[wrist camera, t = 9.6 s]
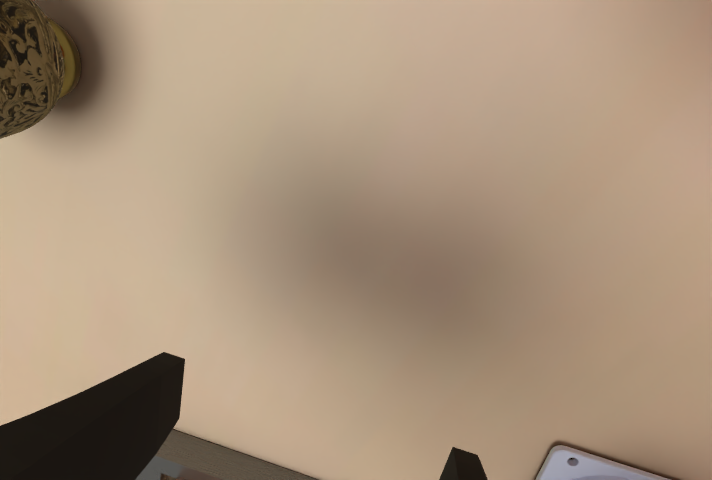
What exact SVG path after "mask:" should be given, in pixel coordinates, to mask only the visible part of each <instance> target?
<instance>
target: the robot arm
mask: <svg viewBox="0 0 712 480" xmlns="http://www.w3.org/2000/svg"><path fill="white" fill-rule="evenodd" d="M184 364H185V359H183V358H180V357H177V356H174V355H171V354H168V353H165V352H163V353H161V354H159V355H157V356H155V357H153V358H151V359H149V360H147V361H145V362H143V363H141V364H138V365H136V366H134V367H132V368H130V369H128V370H126V371H124V372H122V373H120V374H118V375H116V376H114V377H112V378H110V379H108V380H106V381H104V382H102V383H100V384H98V385H95V386H93V387H91V388H89V389H87V390H85V391H83V392H81V393H78V394H76V395H74V396H72V397H69V398H67V399H65V400H62V401H60V402H58V403H55V404H53V405H51V406H48V407H46V408H44V409H42V410H39V411H37V412H35V413H32V414H30V415H27V416H25V417H22V418H20V419H17V420H15V421H12V422H9V423H7V424H4V425H1V426H0V480H135V479H136V478H137V477H138V476H139V475H140V473H141V472H142V471H143V470H144V468H145V467H146V466H147V465H148V464H149V462H150V461H151V460H152V459H153V457H154V456H155V455H156V453H157V452H158V450H159V449H160V447H161V446H162V444H163V443H164V441H165V440H166V438H167V437H168V435H169V434H170V432H171V431H172V429H173V427H174V426H175V424H176V423H177V421H178V420H179V416H180V406H181V395H182V385H183V375H184ZM569 458H575V459H573V460H569ZM439 480H487V477H486V474H485V472H484V469H483V467H482V464H481V461H480V459H479V457H478V455H476V454H473V453H470V452H467V451H464V450H461V449H458V448H455V447H453V448H452V450H451V452H450V455H449V457H448V460H447V462H446V465H445V467H444V470H443V472H442V475H441V477H440V479H439ZM536 480H670V479H667V478H664V477H661V476H658V475H655V474H652V473H648V472H645V471H642V470H639V469H636V468H633V467H630V466H627V465H623V464H620V463H617V462H614V461H611V460H608V459H605V458H602V457H598V456H595V455H592V454H589V453H586V452H583V451H580V450H576V449H573V448H570V447H567V446H563V445H558V446H555V447H553V448H552V449H551V451H550V453H549V455H548V456H547V458H546V460H545V462H544V464H543V466H542V468H541V470H540V472H539V474H538V476H537V478H536Z"/></svg>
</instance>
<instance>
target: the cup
mask: <svg viewBox="0 0 712 480" xmlns="http://www.w3.org/2000/svg"><path fill="white" fill-rule="evenodd" d="M80 74H81V60H80V55H79V52H78V49H77V47H76V45H75V43H74V41H73V39H72V38H71V37H70V35H69V34H68V33H67V32H66V31H65V30H64V29H63V28H62V27H61V26H60V25H58V24H57V23H56V22H54V21H53V20H51V19H50V18H48V17H46V16H45V15H44V14H43V12H42V11H41V10H40V8H39V7H38V6H37V5H36V4H35V3H34V2H33V1H32V0H0V139H1V138H4V137H7V136H10V135H13V134H16V133H19V132H21V131H23V130H25V129H28V128H30V127H32V126H33V125H35V124H36V123H38V122H39V121H40V120H42V119H43V118H44V117H45V116H46V115H47V114H48V113H49V112H50V111H51V109H52V108H53V107H54V106H55V104H56V102H57V100H58V99H60V98H62V97H64V96H66V95H67V94H68V93H70V92H71V91H72V90H73V89H74V88H75V87H76V85H77V83H78V81H79V78H80Z"/></svg>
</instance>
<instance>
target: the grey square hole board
mask: <svg viewBox="0 0 712 480" xmlns="http://www.w3.org/2000/svg"><path fill="white" fill-rule="evenodd" d="M175 479H179V480H317V479H314V478H311V477H308V476H305V475H303V474H300V473H297V472H294V471H291V470H288V469H285V468H282V467H280V466H277V465H274V464H271V463H268V462H265V461H262V460H259V459H257V458H254V457H251V456H248V455H245V454H242V453H239V452H236V451H234V450H231V449H228V448H225V447H222V446H219V445H216V444H213V443H211V442H208V441H205V440H202V439H199V438H196V437H193V436H190V435H188V434H185V433H182V432H179V431H176V430H173V429H172V431H171V432H170V434H169V435H168V437H167V438H166V440H165V441H164V443H163V444H162V446H161V447H160V449H159V450H158V452H157V453H156V455H155V456H154V457H153V459H152V460H151V461H150V462H149V464H148V465H147V466H146V467H145V468H144V470H143V471H142V472H141V473H140V475H139V476H138V477H137V478H136V479H135V480H175Z"/></svg>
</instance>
